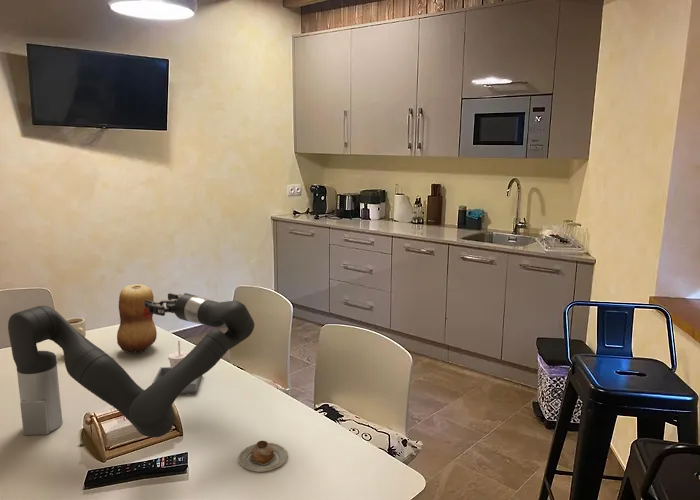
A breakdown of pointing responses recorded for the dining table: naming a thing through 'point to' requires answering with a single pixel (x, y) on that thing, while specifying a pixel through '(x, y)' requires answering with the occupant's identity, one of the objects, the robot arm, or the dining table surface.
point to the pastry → (262, 456)
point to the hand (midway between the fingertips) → (157, 299)
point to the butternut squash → (135, 319)
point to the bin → (189, 389)
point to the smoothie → (176, 356)
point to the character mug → (78, 325)
